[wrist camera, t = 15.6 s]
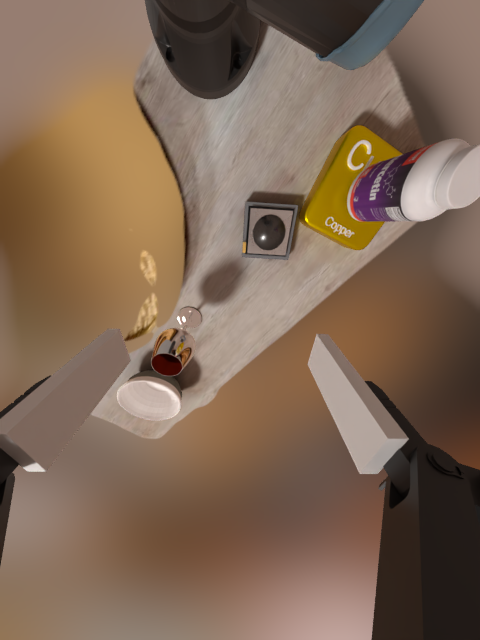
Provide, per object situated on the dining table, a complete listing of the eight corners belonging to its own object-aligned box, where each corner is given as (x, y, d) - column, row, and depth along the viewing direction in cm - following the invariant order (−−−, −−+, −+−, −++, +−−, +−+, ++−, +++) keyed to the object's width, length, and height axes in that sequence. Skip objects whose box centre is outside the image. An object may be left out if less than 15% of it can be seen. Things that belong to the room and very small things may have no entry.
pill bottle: (367, 153, 28) (498, 97, 16) (395, 185, 31) (524, 158, 19) (334, 206, 31) (423, 193, 19) (363, 230, 34) (456, 234, 21)
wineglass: (208, 309, 47) (193, 354, 32) (201, 333, 51) (185, 384, 36) (177, 300, 46) (145, 342, 30) (172, 325, 50) (142, 375, 34)
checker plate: (250, 208, 35) (250, 207, 33) (290, 211, 35) (293, 210, 34) (246, 251, 39) (247, 253, 37) (283, 253, 39) (285, 255, 37)
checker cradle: (245, 202, 36) (245, 201, 33) (294, 206, 36) (299, 205, 34) (241, 255, 41) (242, 257, 38) (285, 257, 41) (288, 260, 38)
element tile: (294, 220, 38) (301, 221, 34) (341, 129, 31) (357, 116, 27) (350, 250, 41) (363, 254, 37) (404, 173, 34) (427, 167, 30)
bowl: (190, 399, 66) (184, 421, 58) (138, 397, 65) (125, 420, 58) (185, 360, 56) (177, 381, 49) (124, 358, 56) (107, 379, 48)
